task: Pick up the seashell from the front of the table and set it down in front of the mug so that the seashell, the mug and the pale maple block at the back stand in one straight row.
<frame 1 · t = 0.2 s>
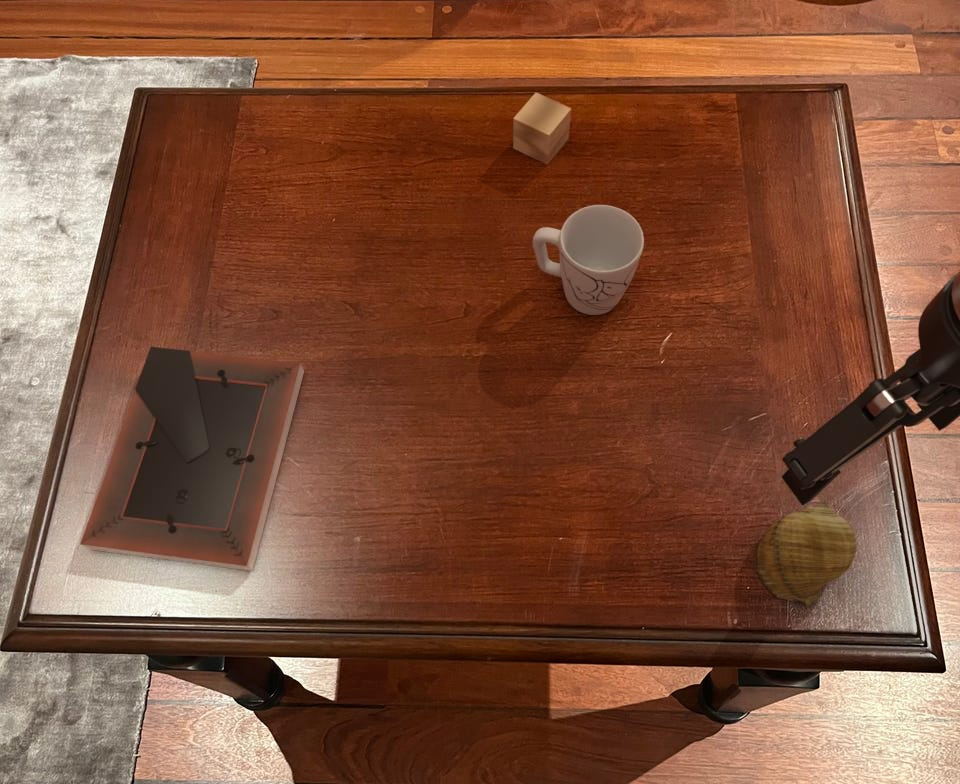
hand: (864, 451, 64), 15 cm above the table, tool pointing down, fingers open, 13 cm apart
picture frame: (204, 458, 82), on the table
maple block: (540, 143, 99), on the table
mug: (579, 289, 89), on the table
seashell: (798, 560, 75), on the table
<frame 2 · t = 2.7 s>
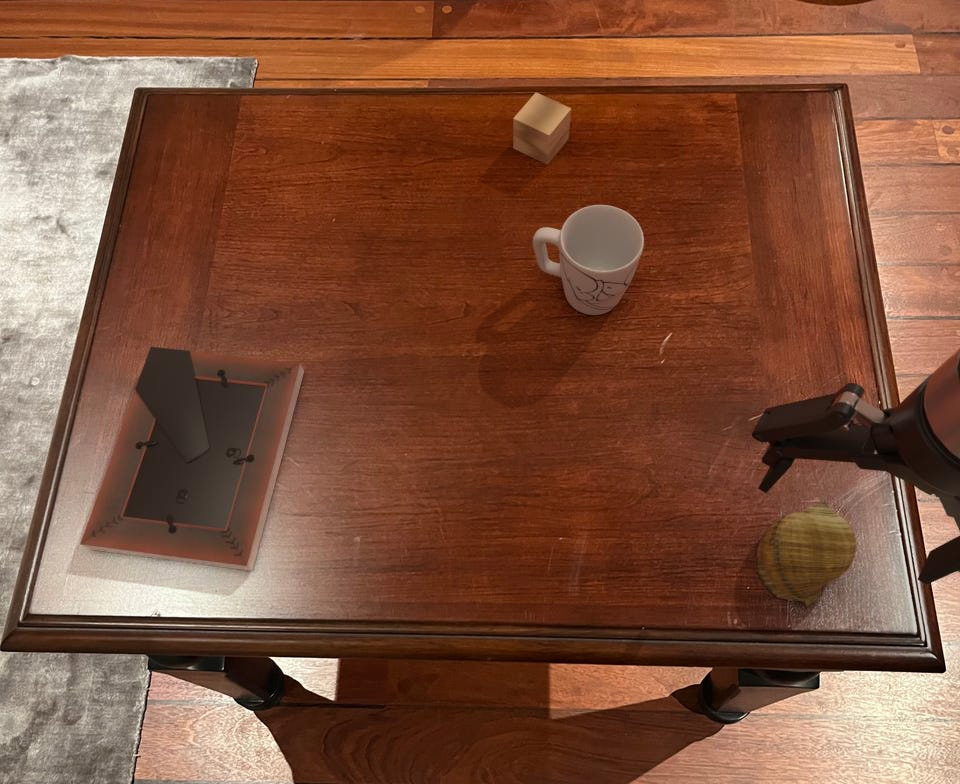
hand: (846, 521, 65), 12 cm above the table, tool pointing down, fingers open, 13 cm apart
nothing on the table moved.
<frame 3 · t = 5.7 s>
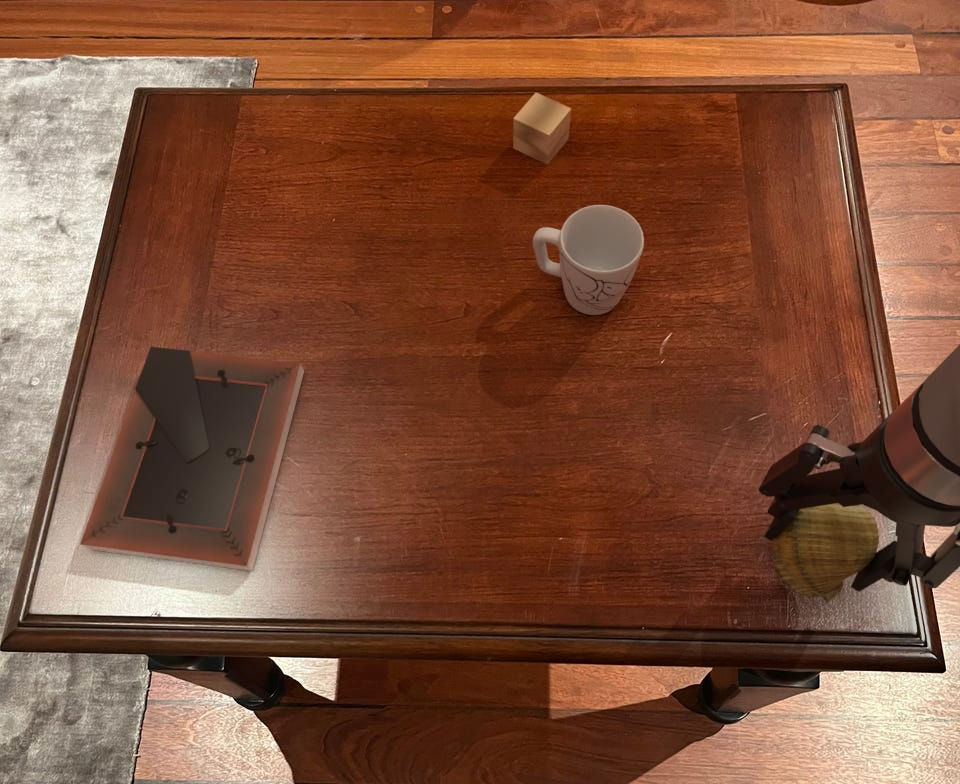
hand: (816, 551, 71), 5 cm above the table, tool pointing down, fingers closed on seashell, 7 cm apart
seashell: (817, 554, 71), point 4 cm above the table, touching gripper
everything else where it was.
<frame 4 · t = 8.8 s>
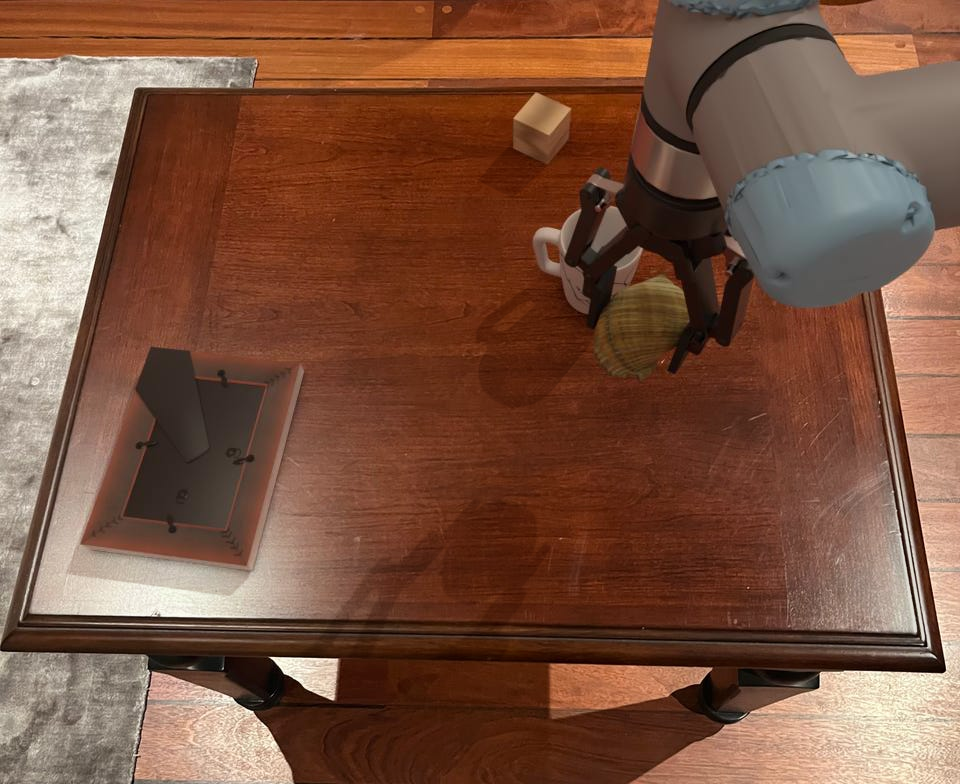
hand: (637, 338, 70), 14 cm above the table, tool pointing down, fingers closed on seashell, 7 cm apart
seashell: (639, 342, 71), point 13 cm above the table, touching gripper
everything else where it was.
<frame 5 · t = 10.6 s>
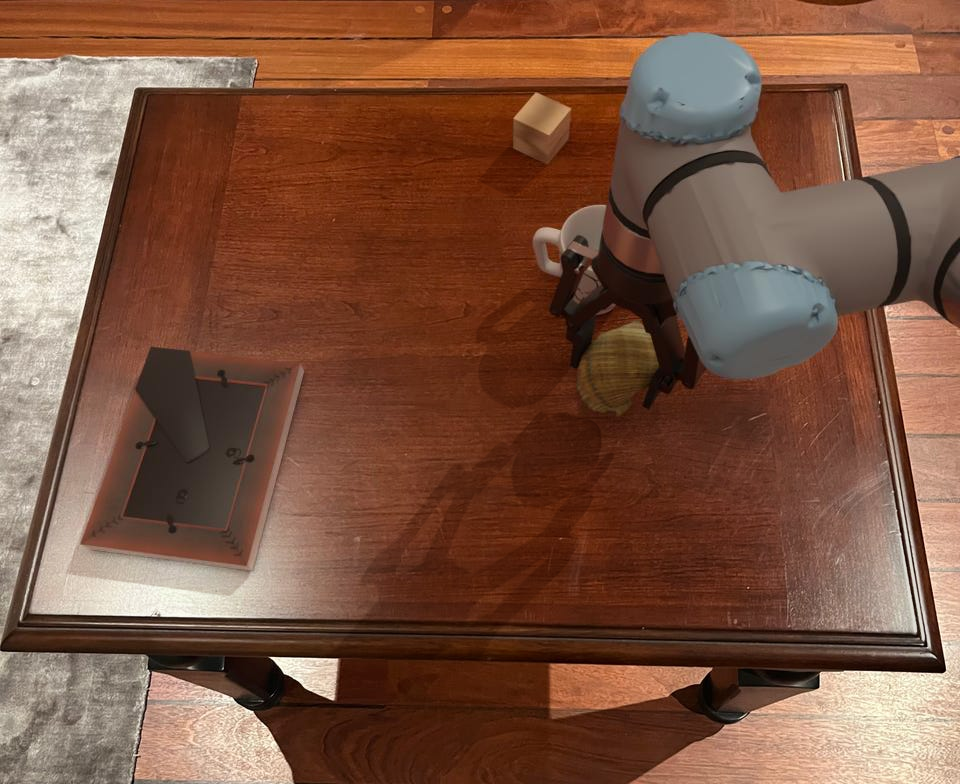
hand: (615, 377, 79), 5 cm above the table, tool pointing down, fingers closed on seashell, 7 cm apart
seashell: (617, 380, 79), point 5 cm above the table, touching gripper
everything else where it was.
when the fingers open (0 cm above the table, at t = 12.0 s): seashell stays where it is, on the table.
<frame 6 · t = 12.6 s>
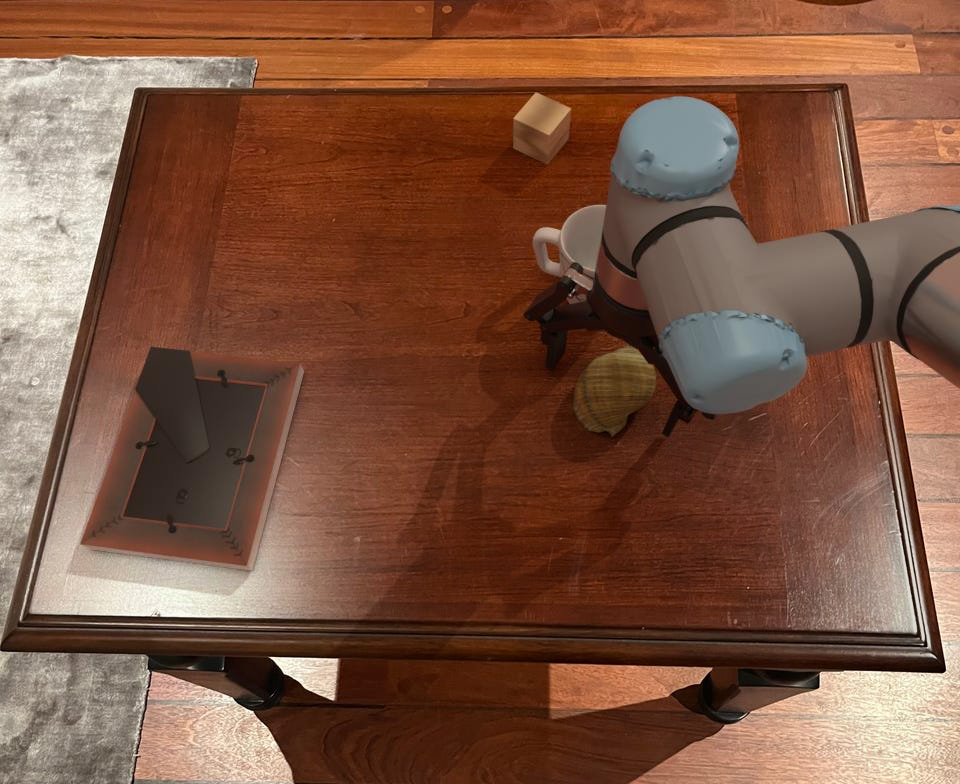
hand: (612, 392, 82), 2 cm above the table, tool pointing down, fingers open, 13 cm apart
seashell: (612, 401, 83), on the table
everything else where it was.
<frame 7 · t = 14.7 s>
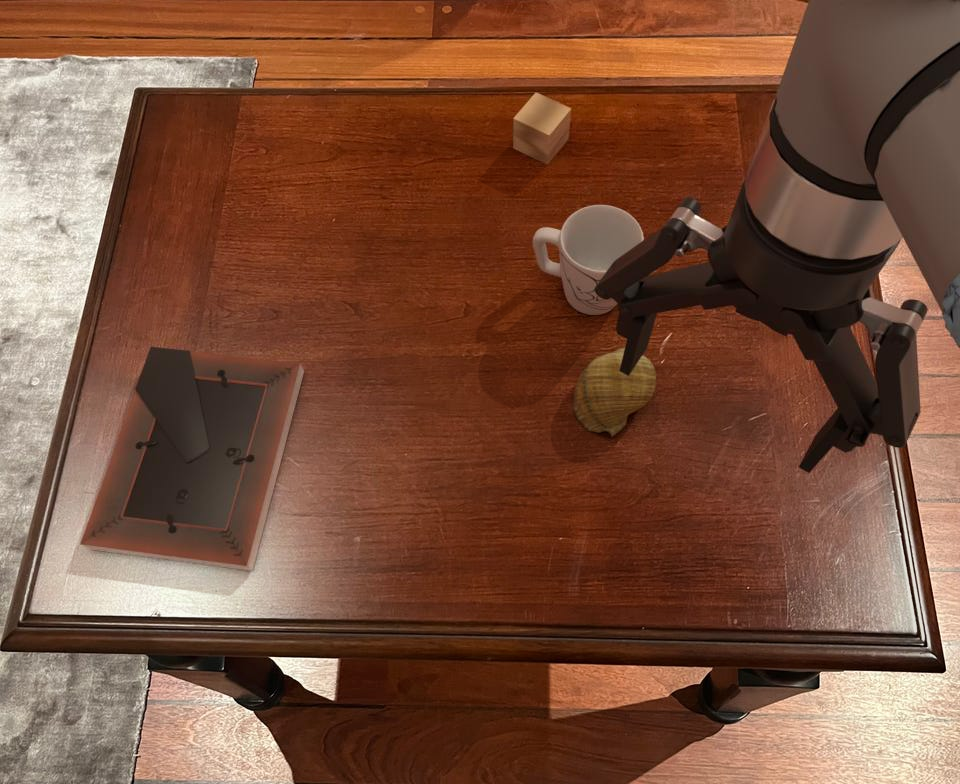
hand: (719, 405, 56), 25 cm above the table, tool pointing down, fingers open, 13 cm apart
nothing on the table moved.
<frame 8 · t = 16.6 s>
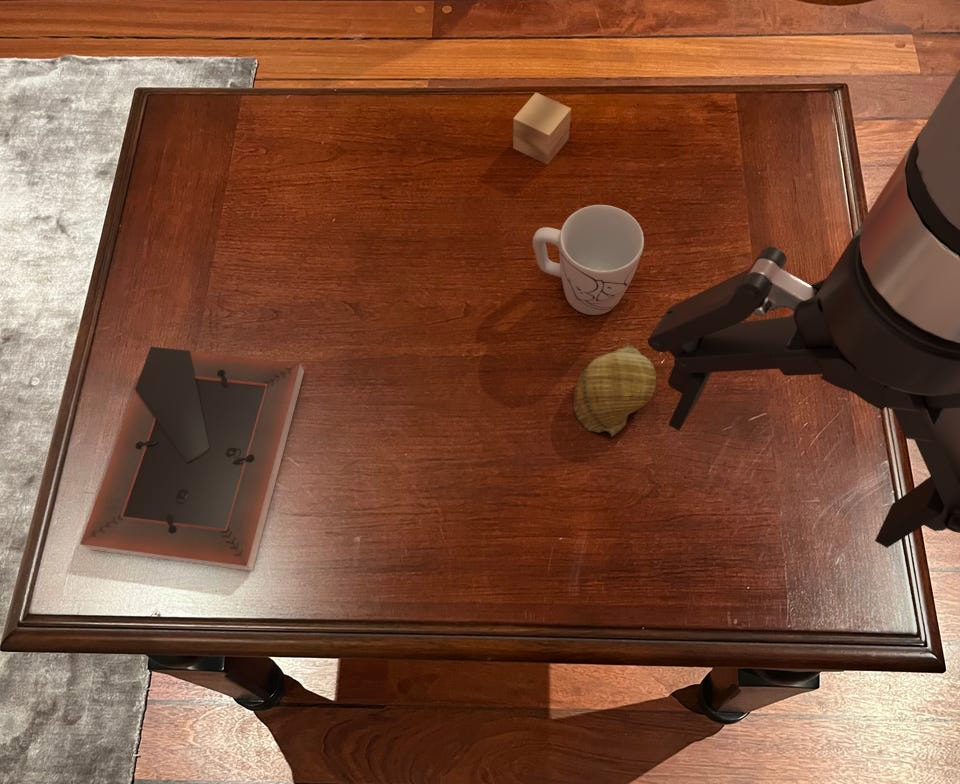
hand: (782, 466, 49), 29 cm above the table, tool pointing down, fingers open, 13 cm apart
nothing on the table moved.
at the end: seashell 0.3 cm from the target spot on the table beside the mug, on the table; seashell 0.3 cm from the target spot on the table beside the maple block, on the table; mug moved 0.2 cm from its start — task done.
